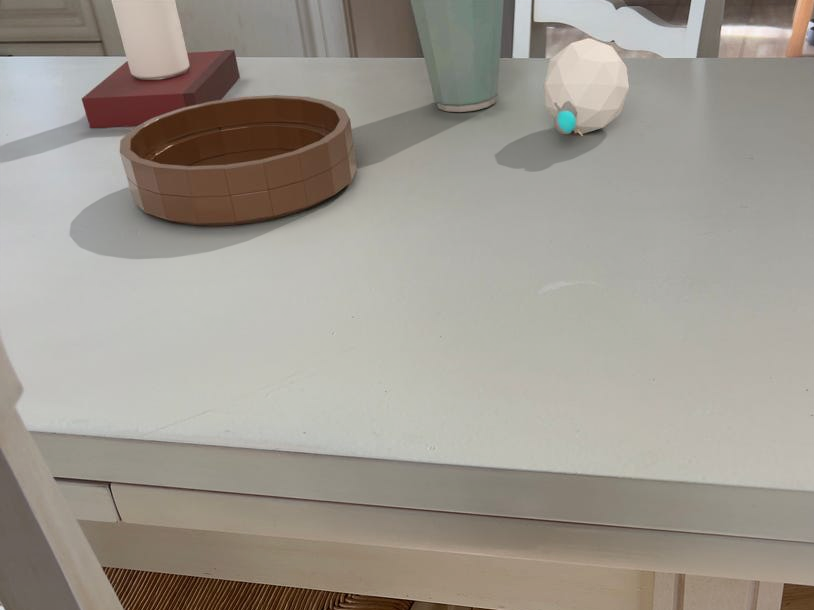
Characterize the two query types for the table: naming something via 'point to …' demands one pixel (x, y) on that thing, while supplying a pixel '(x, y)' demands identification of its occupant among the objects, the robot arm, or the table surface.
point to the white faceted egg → (585, 86)
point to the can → (152, 38)
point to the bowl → (239, 159)
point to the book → (160, 91)
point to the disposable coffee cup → (461, 50)
